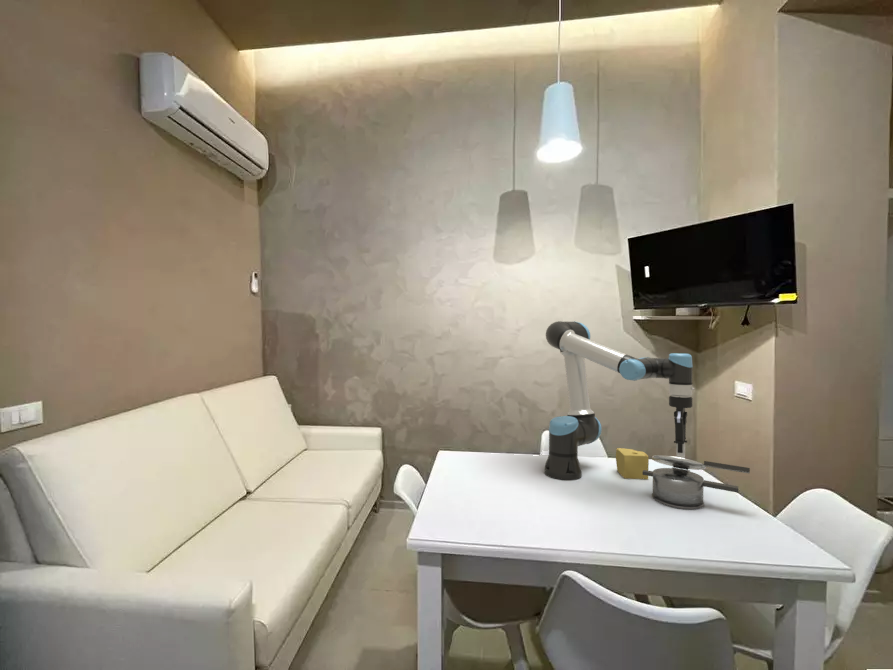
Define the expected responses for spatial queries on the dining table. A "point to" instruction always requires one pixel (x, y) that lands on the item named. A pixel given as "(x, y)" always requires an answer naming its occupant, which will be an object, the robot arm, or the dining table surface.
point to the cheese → (631, 463)
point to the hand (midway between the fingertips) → (680, 460)
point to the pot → (681, 488)
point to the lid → (695, 464)
